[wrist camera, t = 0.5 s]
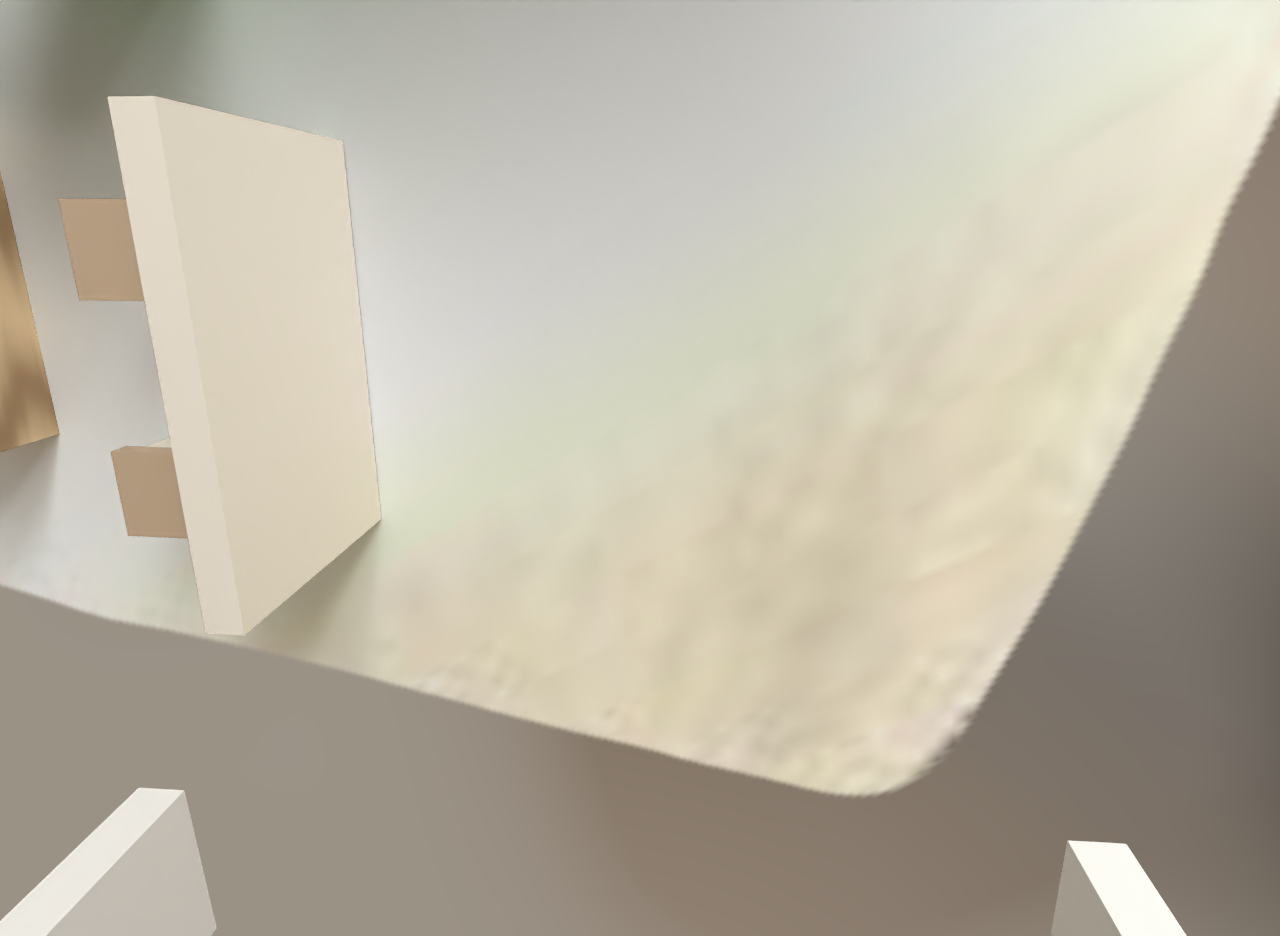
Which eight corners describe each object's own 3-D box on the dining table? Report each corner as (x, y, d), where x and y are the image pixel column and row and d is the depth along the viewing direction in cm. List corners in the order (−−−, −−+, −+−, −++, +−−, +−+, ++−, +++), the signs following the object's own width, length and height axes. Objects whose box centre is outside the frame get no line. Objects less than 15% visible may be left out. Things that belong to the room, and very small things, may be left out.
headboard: (222, 141, 35) (-21, 98, 23) (342, 140, 34) (153, 95, 23) (276, 514, 40) (99, 627, 29) (381, 519, 40) (244, 635, 28)
